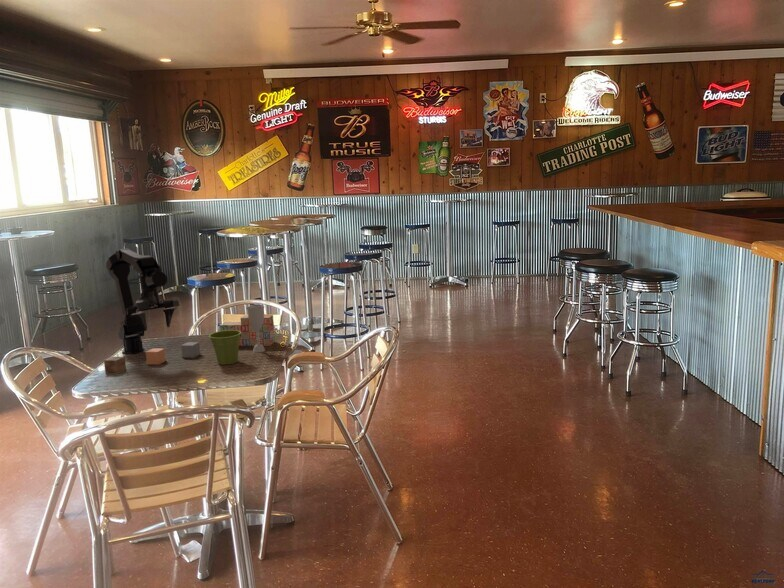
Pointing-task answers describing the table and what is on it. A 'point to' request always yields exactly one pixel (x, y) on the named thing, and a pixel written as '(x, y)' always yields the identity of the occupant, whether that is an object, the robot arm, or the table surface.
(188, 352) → the slate cube
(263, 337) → the stack of blocks
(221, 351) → the plant pot
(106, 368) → the walnut cube
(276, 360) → the table surface
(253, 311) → the chalice
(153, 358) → the terracotta cube
